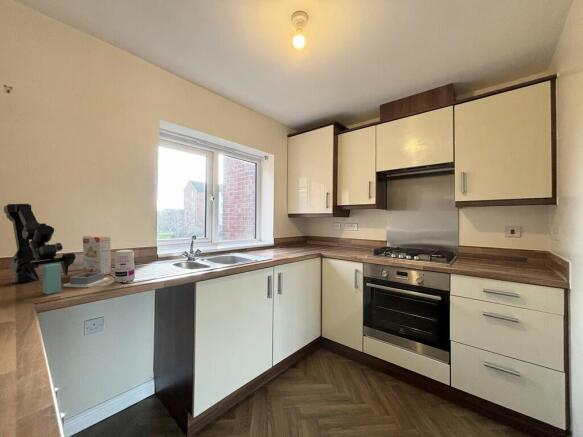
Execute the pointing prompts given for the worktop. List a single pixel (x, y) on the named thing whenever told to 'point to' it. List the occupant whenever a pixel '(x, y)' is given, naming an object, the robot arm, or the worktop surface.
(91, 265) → the cracker box
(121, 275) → the supplement can
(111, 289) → the worktop surface
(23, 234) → the robot arm
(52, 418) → the worktop surface
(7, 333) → the worktop surface
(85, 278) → the mounting plate
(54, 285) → the peg
